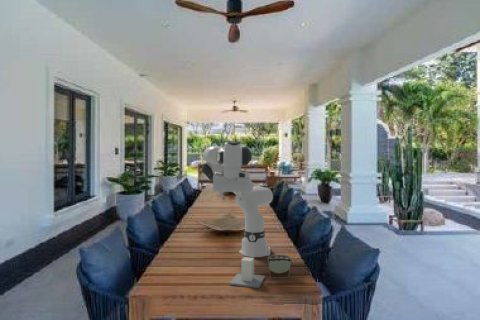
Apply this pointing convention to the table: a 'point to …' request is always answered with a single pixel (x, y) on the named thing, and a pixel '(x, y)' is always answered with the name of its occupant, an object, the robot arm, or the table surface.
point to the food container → (279, 266)
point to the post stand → (255, 282)
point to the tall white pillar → (247, 269)
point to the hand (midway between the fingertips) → (232, 200)
